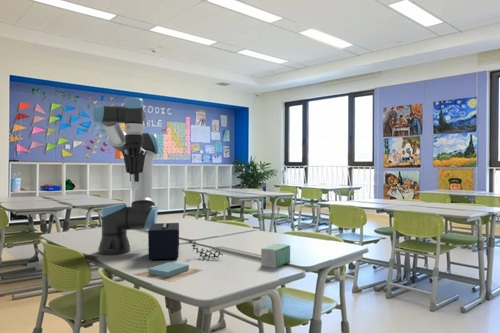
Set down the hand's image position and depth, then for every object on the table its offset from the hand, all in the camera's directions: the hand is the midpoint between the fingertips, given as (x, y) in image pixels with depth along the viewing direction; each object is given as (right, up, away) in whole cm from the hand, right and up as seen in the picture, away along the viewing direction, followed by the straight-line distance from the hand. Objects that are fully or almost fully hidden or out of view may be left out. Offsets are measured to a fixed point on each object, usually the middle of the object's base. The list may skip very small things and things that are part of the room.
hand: (134, 189), depth 165 cm
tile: (+13, -30, -11) cm, 35 cm away
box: (+61, -32, 0) cm, 69 cm away
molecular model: (+30, -32, +10) cm, 45 cm away
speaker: (+10, -33, +15) cm, 37 cm away
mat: (+18, -32, -14) cm, 39 cm away
